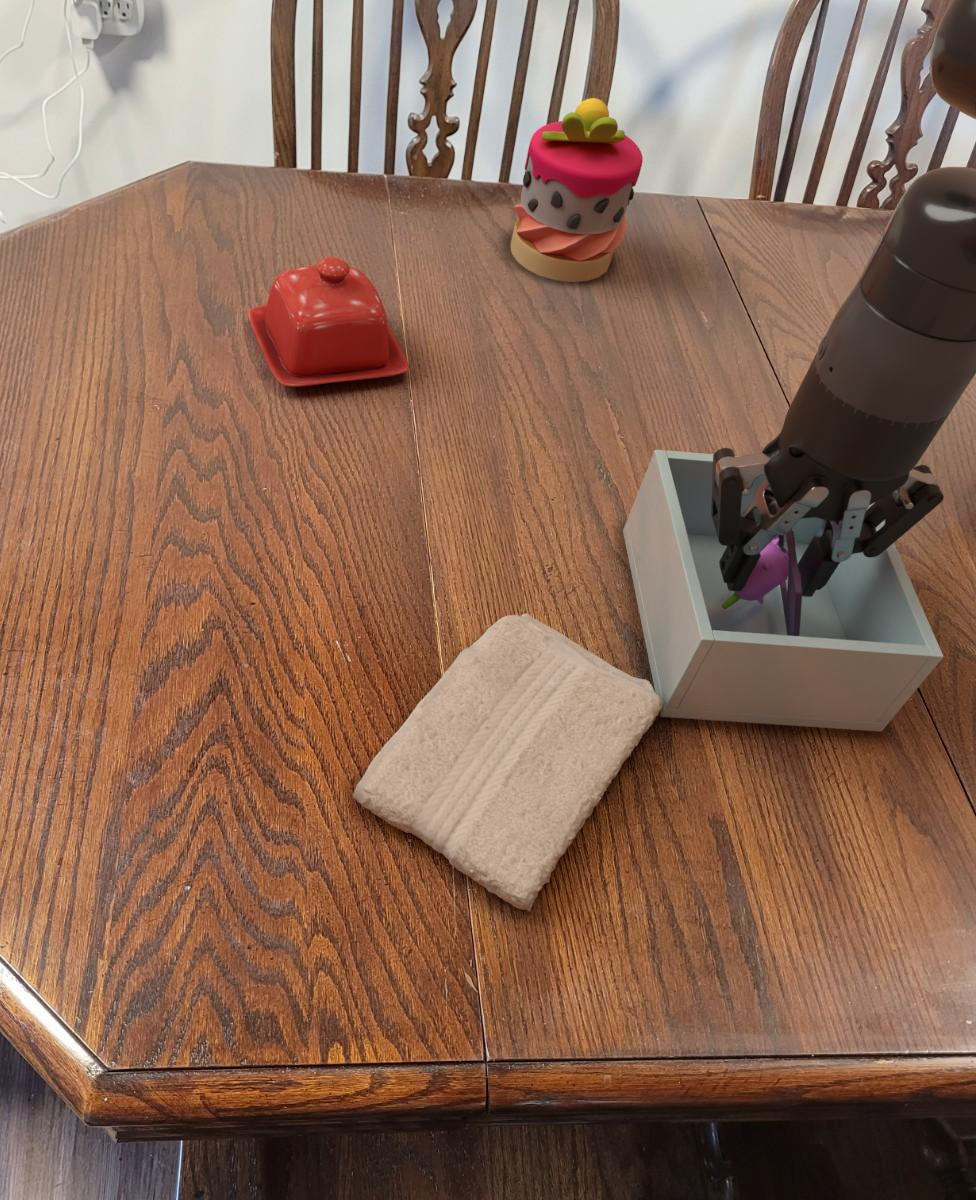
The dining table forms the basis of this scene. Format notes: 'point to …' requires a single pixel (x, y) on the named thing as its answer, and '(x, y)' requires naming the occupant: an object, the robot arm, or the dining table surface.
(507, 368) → the dining table surface
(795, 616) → the pink dragon fruit
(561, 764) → the washcloth
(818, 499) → the robot arm
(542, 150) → the cake
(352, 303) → the butter dish
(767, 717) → the open box
